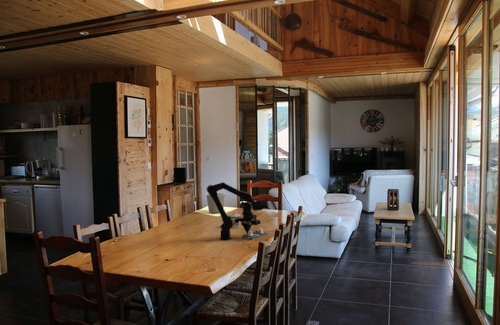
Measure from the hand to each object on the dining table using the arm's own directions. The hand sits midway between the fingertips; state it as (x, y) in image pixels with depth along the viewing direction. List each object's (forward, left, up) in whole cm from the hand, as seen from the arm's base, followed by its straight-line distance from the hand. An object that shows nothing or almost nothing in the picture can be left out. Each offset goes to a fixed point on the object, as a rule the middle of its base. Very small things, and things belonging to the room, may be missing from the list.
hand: (247, 233), depth 267 cm
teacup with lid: (+22, +28, -3) cm, 36 cm away
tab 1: (0, -2, -1) cm, 3 cm away
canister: (+60, +86, -3) cm, 105 cm away
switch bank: (+5, -2, -3) cm, 6 cm away
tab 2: (+10, -4, -1) cm, 11 cm away
